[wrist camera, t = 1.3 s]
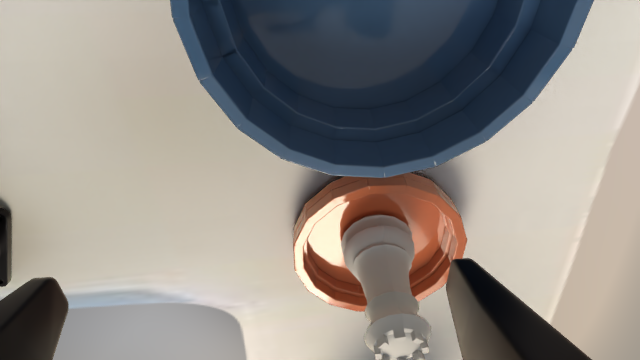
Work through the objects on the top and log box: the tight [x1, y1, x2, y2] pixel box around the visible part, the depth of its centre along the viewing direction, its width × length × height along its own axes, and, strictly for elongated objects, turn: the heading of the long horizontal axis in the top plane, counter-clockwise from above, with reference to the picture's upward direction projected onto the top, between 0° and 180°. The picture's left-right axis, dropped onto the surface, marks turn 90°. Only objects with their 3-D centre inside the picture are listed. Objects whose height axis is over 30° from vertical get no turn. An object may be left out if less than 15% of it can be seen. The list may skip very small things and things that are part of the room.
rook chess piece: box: [341, 214, 431, 360], centre depth 22 cm, size 4×4×8 cm
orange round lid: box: [293, 172, 467, 312], centre depth 25 cm, size 10×10×2 cm
